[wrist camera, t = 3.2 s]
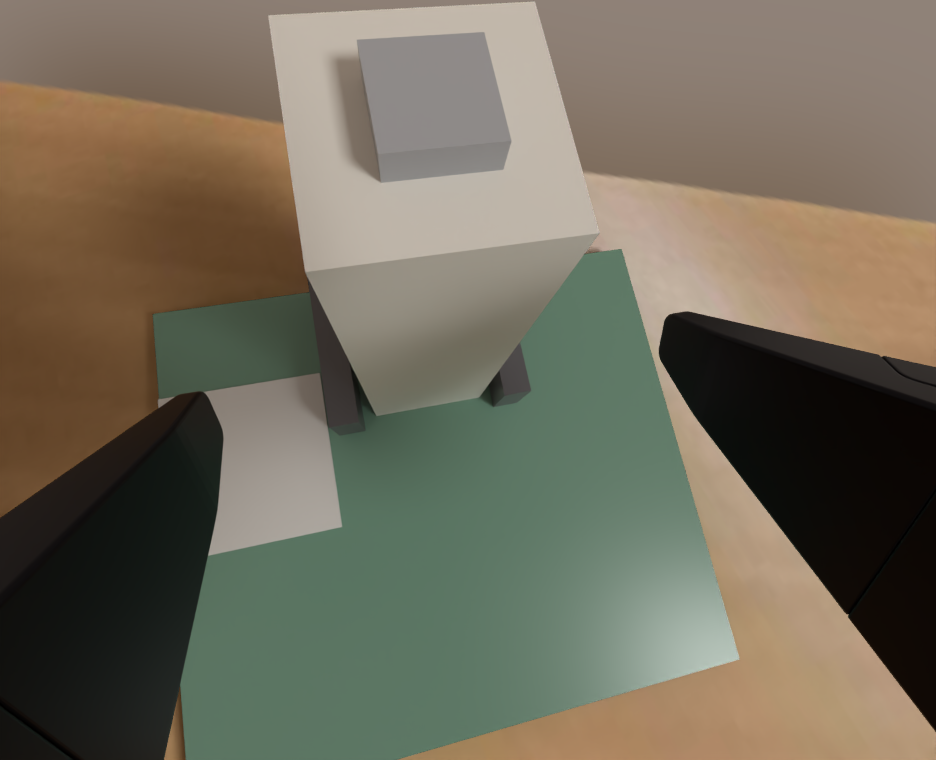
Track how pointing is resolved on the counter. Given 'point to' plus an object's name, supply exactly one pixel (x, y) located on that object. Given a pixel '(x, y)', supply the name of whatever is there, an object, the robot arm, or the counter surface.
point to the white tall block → (430, 188)
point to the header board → (435, 534)
